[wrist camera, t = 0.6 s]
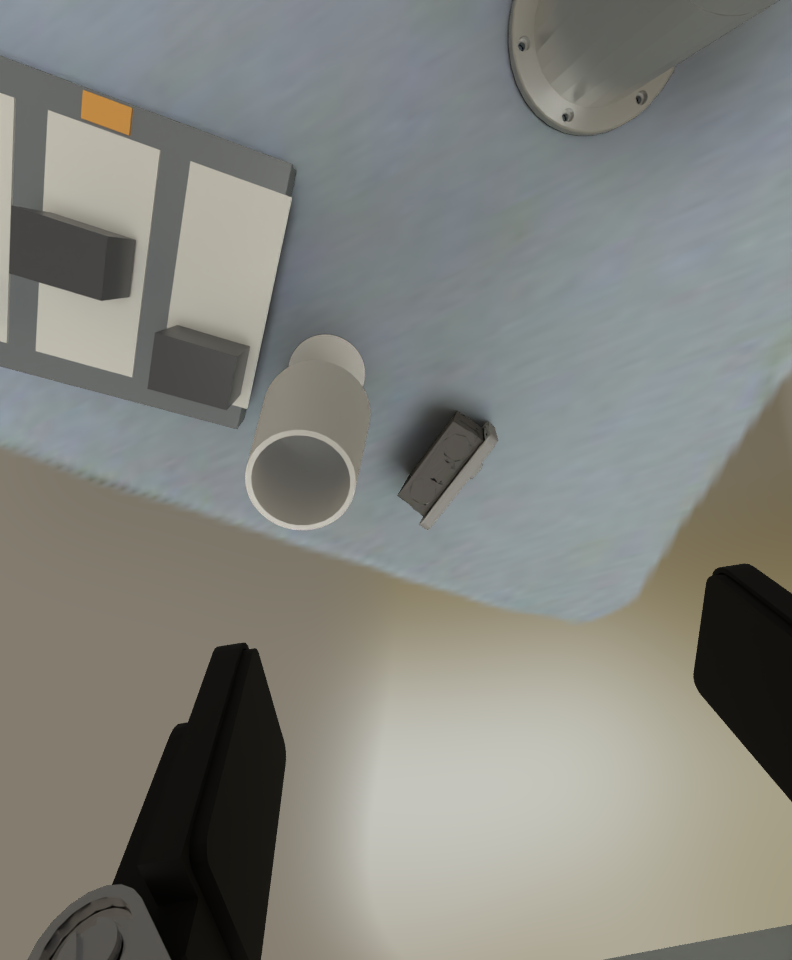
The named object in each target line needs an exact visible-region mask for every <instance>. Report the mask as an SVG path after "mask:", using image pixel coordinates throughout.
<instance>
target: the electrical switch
mask: <svg viewBox="0 0 792 960" xmlns="http://www.w3.org/2000/svg"><path fill="white" fill-rule="evenodd" d="M497 442H498V438H497V434H496V431H495V427H494V426H493V425H492V424H491V423H489V422H486V423H485V424H484V425H483V427H482V428H481V427H480V426H479V425H477V424H476V423H475V422H474V421H472V420H471V419H469V418H467V417H465V416H464V415H462V414H461V413H460V412H458V411H457V412H456V414H455V415H454V416H453V418H452V419H451V420H450V422H449V423H448V424H447V426H446V427H445V428H444V430H443V431H442V432H441V434H440V435H439V436H438V438H437V439H436V440H435V442H434V443H433V445H432V446H431V447H430V449H429V450H428V451H427V453H426V454H425V455H424V457H423V458H422V459H421V461H420V462H419V463H418V465H417V466H416V467H415V469H414V470H413V471H412V473H411V474H410V475H411V476H412V477H411V476H410V475H409V476H408V478H407V480H406V482H405V483H404V485H403V487H402V489H401V490H400V492H399V494H398V496H399V497H400V498H401V499H403V500H404V501H406V502H407V503H409V504H410V505H411V506H412V508H413V509H414V510H416V511H417V512H419V513H420V514H421V515H422V516H423V518H422V520H421V522H420V524H419V525H420V526H422V527H424V528H425V529H427V530H429V529H430V528H431V527H432V526H433V524H434V523H435V522H436V521H437V519H438V518H439V517H440V515H441V514H442V513H443V512H444V510H445V509H446V508H447V507H448V505H449V504H450V503H451V501H452V500H453V499H454V498H455V496H456V495H457V494H458V493H459V491H460V490H461V489H462V488H463V486H464V485H465V484H466V482H467V481H468V480H469V479H473V478H474V477H475V476H476V474H477V473H478V472H479V471H480V470H481V468H482V466H483V464H482V462H483V461H484V460H485V458H486V457H487V456H488V455H489V453H490V452H491V451H492V449H493V448H494V447H495V445H496V443H497ZM444 453H445V455H446V456H445V455H444Z"/></svg>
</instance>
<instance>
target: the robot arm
mask: <svg viewBox="0 0 792 960" xmlns="http://www.w3.org/2000/svg"><path fill="white" fill-rule="evenodd" d="M778 1H779V0H513V2H512V8H511V14H510V20H509V53H510V60H511V67H512V70H513V74H514V77H515V80H516V83H517V86H518V88H519V90H520V92H521V94H522V96H523V98H524V100H525V102H526V103H527V104H528V105H529V107H530V108H531V109H532V110H533V112H534V113H535V114H536V115H537V116H538V117H539V118H540V119H541V120H543V121H544V122H545V123H546V124H547V125H549V126H551V127H553V128H555V129H557V130H559V131H561V132H563V133H568V134H572V135H576V136H593V135H597V134H601V133H605V132H609V131H611V130H613V129H615V128H617V127H620V126H622V125H623V124H625V123H627V122H628V121H630V120H632V119H633V118H635V117H636V116H638V115H639V114H640V113H641V112H642V111H644V110H645V109H646V108H647V107H648V106H649V105H650V104H651V103H652V102H653V100H654V99H655V98H656V97H657V95H658V94H659V93H660V92H661V91H662V89H663V88H664V86H665V84H666V83H667V81H668V79H669V78H670V76H671V74H672V73H673V71H674V68H675V66H676V65H677V64H679V63H680V62H682V61H684V60H685V59H687V58H688V57H690V56H692V55H693V54H695V53H696V52H698V51H700V50H701V49H703V48H704V47H706V46H708V45H709V44H711V43H712V42H714V41H716V40H717V39H719V38H720V37H722V36H723V35H725V34H727V33H728V32H730V31H731V30H733V29H735V28H736V27H738V26H739V25H741V24H743V23H744V22H746V21H747V20H749V19H751V18H752V17H754V16H755V15H757V14H759V13H760V12H762V11H763V10H765V9H767V8H768V7H770V6H771V5H773V4H775V3H776V2H778ZM518 45H522V46H523V51H521V50H519V48H518ZM636 98H637V99H638V103H637V102H636ZM562 115H565V116H566V121H565V122H564V121H563V118H562ZM694 682H695V685H696V687H697V689H698V691H699V693H700V694H701V695H702V697H703V698H704V699H705V700H706V701H707V702H708V704H709V705H710V706H711V707H712V708H713V709H714V711H715V712H716V713H717V714H718V715H719V716H720V718H721V719H722V720H723V721H724V722H725V724H726V725H727V726H728V727H729V728H730V730H731V731H732V732H733V733H734V734H735V735H736V737H737V738H738V739H739V740H740V741H741V742H742V744H743V745H744V746H745V747H746V748H747V749H748V751H749V752H750V753H751V754H752V755H753V756H754V758H755V759H756V760H757V761H758V763H759V764H760V765H761V766H762V767H763V768H764V770H765V771H766V772H767V773H768V774H769V775H770V777H771V778H772V779H773V780H774V781H775V782H776V784H777V785H778V786H779V787H780V788H781V789H782V791H783V792H784V793H785V794H786V795H787V797H788V798H789V799H790V800H791V801H792V594H791V593H790V592H789V591H787V590H786V589H784V588H783V587H781V586H780V585H779V584H777V583H776V582H775V581H773V580H772V579H770V578H769V577H768V576H766V575H765V574H763V573H762V572H760V571H759V570H757V569H756V568H755V567H753V566H751V565H750V564H739V565H733V566H726V567H720V568H717V569H715V571H714V572H713V575H712V576H711V577H709V578H708V579H707V582H706V588H705V596H704V603H703V610H702V617H701V625H700V631H699V638H698V646H697V653H696V660H695V667H694ZM285 762H286V750H285V743H284V739H283V736H282V733H281V729H280V726H279V722H278V719H277V715H276V712H275V708H274V705H273V701H272V698H271V694H270V691H269V688H268V684H267V680H266V677H265V674H264V670H263V666H262V663H261V660H260V656H259V653H258V651H257V649H255V648H254V649H249V648H248V645H247V644H246V643H238V644H232V645H226V646H219V647H216V648H215V650H214V651H213V654H212V657H211V660H210V662H209V665H208V668H207V671H206V674H205V676H204V679H203V682H202V685H201V688H200V690H199V693H198V696H197V699H196V702H195V704H194V708H193V710H192V713H191V716H190V718H189V721H188V723H182V724H178V725H177V726H176V727H175V728H174V729H173V731H172V733H171V734H170V737H169V739H168V742H167V744H166V747H165V749H164V752H163V755H162V757H161V760H160V762H159V765H158V768H157V770H156V773H155V775H154V778H153V780H152V783H151V786H150V788H149V791H148V793H147V796H146V799H145V801H144V804H143V806H142V809H141V812H140V814H139V817H138V819H137V822H136V824H135V827H134V830H133V832H132V835H131V837H130V840H129V843H128V845H127V848H126V850H125V853H124V856H123V858H122V861H121V863H120V866H119V868H118V871H117V874H116V876H115V879H114V881H113V884H112V885H107V886H103V887H101V888H98V889H96V890H94V891H91V892H88V893H87V894H85V895H84V896H82V897H81V898H79V899H78V900H76V901H75V902H73V903H72V904H70V905H69V906H68V907H67V908H66V909H65V910H64V911H63V912H62V913H61V914H60V915H59V916H57V918H56V919H54V920H53V922H52V923H51V924H50V925H49V927H48V928H47V929H46V930H45V932H44V933H43V934H42V936H41V937H40V938H39V939H38V941H37V943H36V945H35V946H34V948H33V950H32V952H31V954H30V956H29V958H28V960H261V955H262V946H263V938H264V930H265V923H266V915H267V907H268V899H269V891H270V883H271V875H272V867H273V859H274V850H275V843H276V835H277V828H278V819H279V811H280V804H281V796H282V788H283V779H284V772H285ZM605 960H792V925H787V926H782V927H777V928H771V929H765V930H760V931H754V932H749V933H744V934H738V935H733V936H728V937H722V938H717V939H712V940H706V941H701V942H695V943H691V944H685V945H679V946H674V947H669V948H664V949H658V950H653V951H647V952H642V953H637V954H631V955H626V956H621V957H616V958H610V959H605Z"/></svg>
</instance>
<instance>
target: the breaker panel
mask: <svg viewBox="0 0 792 960" xmlns="http://www.w3.org/2000/svg"><path fill="white" fill-rule="evenodd" d="M295 175H296V170H295V169H294V167H293V165H292V164H290V163H287V162H285V161H282V160H279V159H277V158H274V157H271V156H269V155H266V154H263V153H260V152H258V151H255V150H252V149H250V148H247V147H244V146H242V145H239V144H236V143H234V142H231V141H228V140H226V139H223V138H220V137H217V136H215V135H212V134H209V133H207V132H204V131H201V130H199V129H196V128H193V127H191V126H188V125H185V124H182V123H180V122H177V121H174V120H172V119H169V118H166V117H164V116H161V115H158V114H156V113H153V112H150V111H147V110H145V109H142V108H139V107H137V106H134V105H131V104H129V103H126V102H123V101H121V100H118V99H115V98H113V97H110V96H107V95H104V94H102V93H99V92H96V91H94V90H91V89H88V88H86V87H83V86H80V85H78V84H75V83H72V82H69V81H67V80H64V79H61V78H59V77H56V76H53V75H51V74H48V73H45V72H43V71H40V70H37V69H35V68H32V67H29V66H26V65H24V64H21V63H18V62H16V61H13V60H10V59H8V58H5V57H2V56H0V366H1V367H5V368H8V369H12V370H16V371H20V372H24V373H27V374H31V375H35V376H39V377H42V378H46V379H50V380H54V381H57V382H61V383H65V384H69V385H72V386H76V387H80V388H84V389H88V390H91V391H95V392H99V393H103V394H106V395H110V396H114V397H118V398H121V399H125V400H129V401H133V402H137V403H140V404H144V405H148V406H152V407H155V408H159V409H163V410H167V411H170V412H174V413H178V414H182V415H186V416H189V417H193V418H197V419H201V420H204V421H208V422H212V423H216V424H219V425H223V426H227V427H231V428H234V429H238V427H239V426H240V424H241V423H242V422H243V420H244V418H245V413H246V409H248V405H249V400H250V396H251V391H252V386H253V381H254V377H255V372H256V367H257V362H258V358H259V353H260V348H261V344H262V339H263V334H264V329H265V325H266V320H267V315H268V311H269V306H270V301H271V296H272V292H273V287H274V282H275V277H276V273H277V268H278V263H279V259H280V254H281V249H282V244H283V240H284V235H285V230H286V225H287V221H288V216H289V211H290V207H291V202H292V197H291V194H292V190H293V185H294V180H295ZM11 205H13V206H18V207H23V208H29V209H34V210H40V211H45V212H51V213H54V214H57V215H61V216H64V217H67V218H70V219H73V220H76V221H79V222H82V223H85V224H88V225H91V226H95V227H98V228H101V229H104V230H107V231H110V232H113V233H116V234H119V235H122V236H125V237H129V238H132V239H135V240H136V244H135V253H134V261H133V270H132V279H131V288H130V296H129V297H127V298H120V299H112V300H104V301H100V300H97V299H93V298H90V297H86V296H83V295H80V294H76V293H73V292H70V291H66V290H63V289H60V288H56V287H53V286H50V285H46V284H43V283H39V282H36V281H33V280H29V279H26V278H23V277H19V276H16V275H13V274H9V259H10V227H11Z"/></svg>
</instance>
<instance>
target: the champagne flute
mask: <svg viewBox="0 0 792 960" xmlns="http://www.w3.org/2000/svg"><path fill="white" fill-rule="evenodd" d="M364 381H365V368H364V363H363V360H362V358H361V356H360V354H359V353H358V351H357V350H356V349H355V347H354V346H353V345H352V344H350V343H349V342H348V341H346V340H345V339H342V338H340V337H338V336H334V335H324V334H322V335H316V336H313V337H311V338H308V339H306V340H305V341H303V342H302V343H301V344H300V345H299V346H298V347H297V348H296V349H295V351H294V352H293V354H292V356H291V359H290V361H289V367H288V368H286V369H285V370H283V371H282V372H281V373H280V374H279V375H278V376H277V377H276V378H275V379H274V380H273V381H272V383H271V385H270V386H269V388H268V390H267V393H266V395H265V398H264V402H263V406H262V410H261V413H260V417H259V421H258V425H257V429H256V432H255V436H254V440H253V444H252V448H251V452H250V455H249V459H248V463H247V467H246V474H245V481H246V488H247V492H248V495H249V497H250V499H251V501H252V503H253V505H254V506H255V507H256V509H257V510H258V511H259V512H260V513H261V514H262V515H263V516H264V517H266V518H267V519H268V520H270V521H272V522H273V523H275V524H277V525H279V526H282V527H285V528H288V529H294V530H311V529H317V528H320V527H323V526H326V525H328V524H330V523H332V522H333V521H335V520H336V519H338V518H339V517H340V516H341V515H342V514H343V513H344V512H345V511H346V509H347V508H348V507H349V505H350V503H351V501H352V499H353V497H354V493H355V488H356V484H357V479H358V474H359V470H360V465H361V461H362V456H363V451H364V447H365V442H366V437H367V433H368V428H369V424H370V405H369V400H368V397H367V395H366V392H365V390H364V388H363V386H364Z"/></svg>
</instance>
